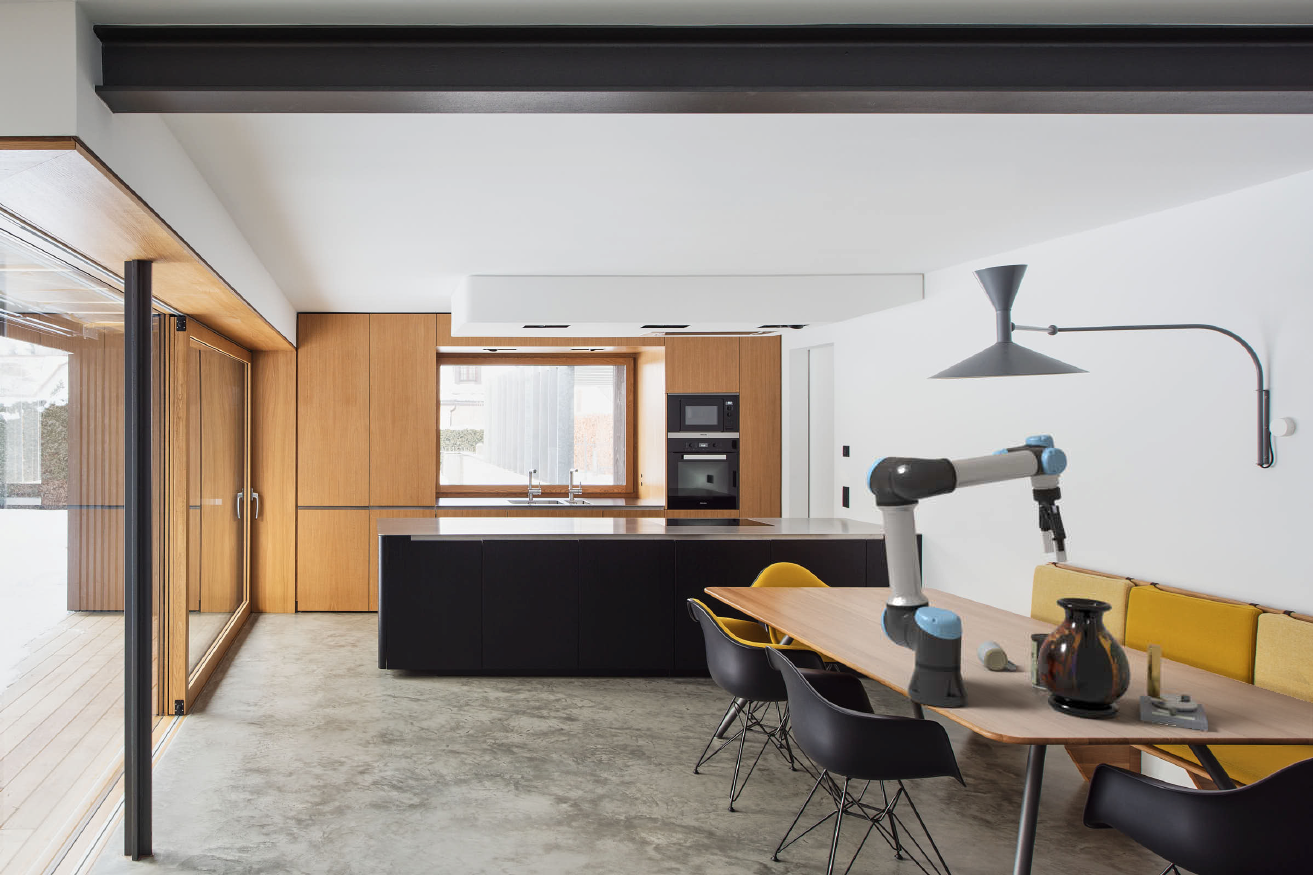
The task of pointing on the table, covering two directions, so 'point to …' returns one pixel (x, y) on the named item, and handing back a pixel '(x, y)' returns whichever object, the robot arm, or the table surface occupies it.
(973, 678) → the table surface
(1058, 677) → the brown glazed vase
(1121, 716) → the table surface
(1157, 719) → the grey crank mechanism
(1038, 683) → the coffee can
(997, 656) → the ceramic mug
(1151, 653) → the lever
